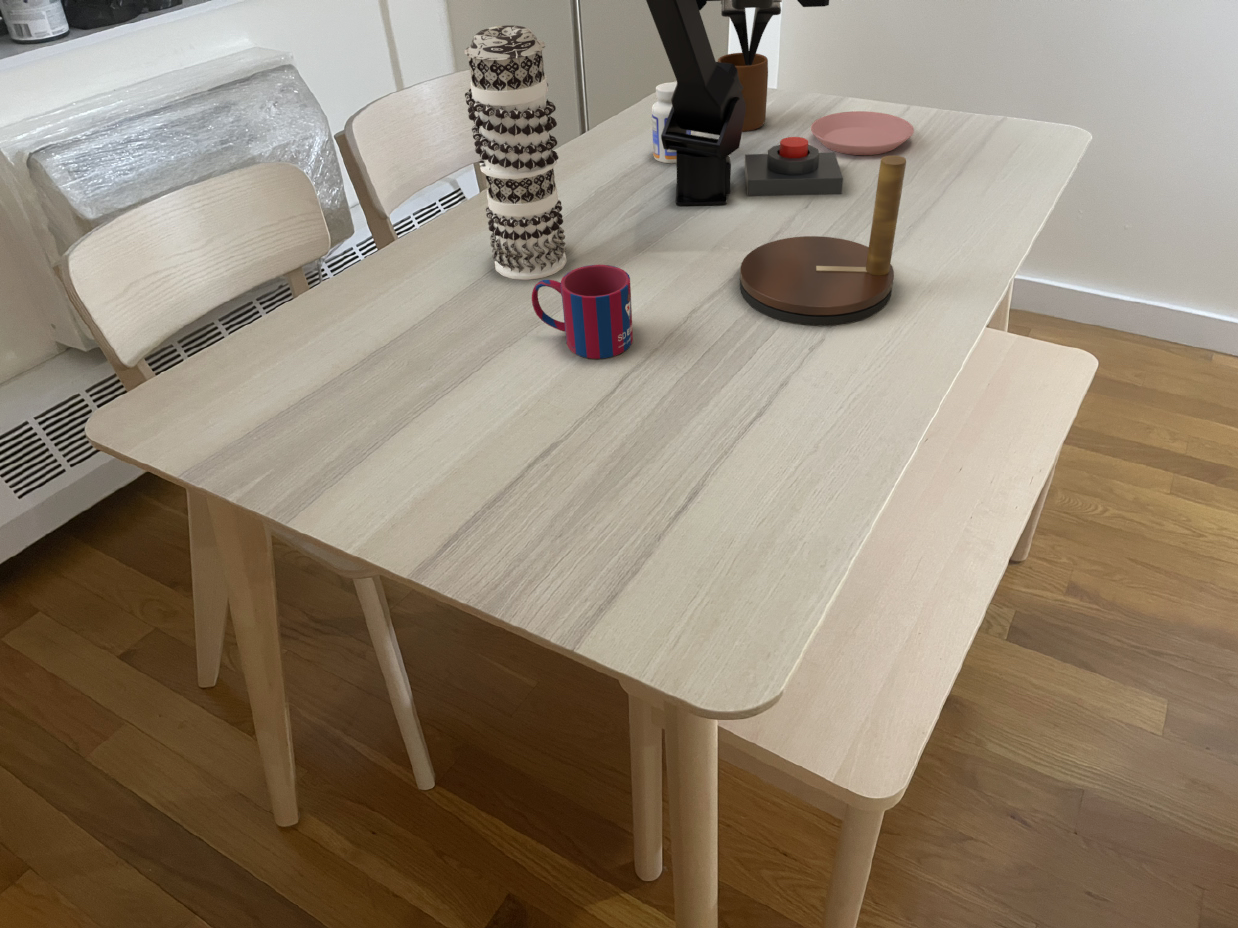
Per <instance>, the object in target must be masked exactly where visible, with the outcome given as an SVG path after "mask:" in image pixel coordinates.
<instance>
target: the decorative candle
mask: <svg viewBox="0 0 1238 928" xmlns="http://www.w3.org/2000/svg"><path fill="white" fill-rule="evenodd" d="M545 48H546V43H545V42H544V41H542V40H539V39H538V38H537V36H536V35H535V33H534V32H533V31H532V30H531V29H529V28H528V27H526V26H523V25H522V26H521V25H509V24H508V25H497V26H492V27H486V28H484V29H481V30H480V31H478V32H477V33H476V34H475V35H474V36H473V38H472V40H471V43H470V45H469V46H468V47H467V48H465V49H464V55H466V56H467V60H468V65H469V66H468V67H469V72H470V79H471V80H469V84H470V88H469V89H468V91H467V92H465V93H464V97H465V102H466V105H467V106H468V107H467V109H466V110H467V113H468V114H467V115H468V117H467V118H468V119H469V120H470V121H472V122H473V124H474V125H472V127H471V132H472V133H473V134H472V139H473V140H474V144H473V145H474V146H475V148H474V152H475V153H476V154H477V155H479V159H478V163H479V168H480V172H482V173H483V174H484V175H485V183H486V187H487V190H486V199H487V205H488V206H486V208H485V212H486V217H487V219H489V220H488V221H487V225H488V230H489V232H492V233H491V234H490V236H489V240H490V247H491V248H492V249H491V252H492V253H491V254H492V255H491V256H492V259H493V260H494V268H495V271H496V272H497V273H498V274H500V275H501V276H502V277H505V278H508V279H512V280H520V281H521V280H522V281H528V280H538V279H543V278H546V277H549V276H552V275H555V274H556V273H558V272H559V271H560V270H563V269H564V268H565V265H566V264H567V262H568V261H567V256H566V251H567V247H566V242H565V241H564V240H565V239H566V235H565V234H564V233H565V229H564V228H563V227H561V225H563V224H564V219H563V214H562V213H561V212H562V210H563V205H562V201H561V200H560V199H559V193H558V187H557V184H556V181H555V178H556V177H555V170H554V168H555V167H556V165H558V160H559V155H558V153H557V151H555V150H553V149H554V148H555V147H556V146H557V145H558V140H557V138H556V137H555V136H554V135H552V134H551V133H550V131H552V130H553V129H555V128H556V127H557V126H558V123H557V122H558V121H556V118H554V117H553V116H551V115H552V113H554V112H556V109H557V107H556V105H555V104H554V102H552V101H550V100H549V99H548V98H546V95H547V93H548V91H549V88H548V87H549V83H548V78H547V75H546V73H545V71H544V70H545V69H544V66H545V65H544V57H543V50H544V49H545ZM476 112H477V115H476Z"/></svg>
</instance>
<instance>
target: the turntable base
mask: <svg viewBox="0 0 1238 928" xmlns="http://www.w3.org/2000/svg"><path fill="white" fill-rule="evenodd" d="M739 291H740V294H741V296H742V299H743V300H744V301H745V302H746V303H747V304H748V305H749V306H750V307H751V308H753V309H754V310H756V311H757V312H759V313H761V314H762V315H764V316H766V317H770V318H772V319H775V320H778V321H781V322H785V323H789V324H795V325H801V326H802V325H803V326H815V327H816V326H817V327H828V326H829V327H830V326H837V325H838V326H839V325H846V324H851V323H855V322H860V321H863V320H865V319H867V318H870V317H872V316H874V315H876V314H878V313H879V312H880V311H882V310H883V309H884V308H885V307H886V306H887V305H888V303H889V302H890V299H891V297H892V292H893V288H892V289H891V290H890V292H889V294H888V295H887V296H886V297H885V298H884V299H882V300H881V301H880V302H878V303H876V304H875V305H873V306H870V307H868V308H866V309H862V310H859V311H855V312H851V313H845V314H838V315H806V314H799V313H793V312H788V311H784V310H780V309H776V308H774V307H771V306H768V305H766V304H764V303H762V302H760V301H758V300H757V299H755V298H754V297H752V296H751V295H750V294H749V293H748V292H747V291H746V290H745V289H744V287H743V285H742V283H741V280H740V279H739Z"/></svg>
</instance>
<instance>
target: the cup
mask: <svg viewBox="0 0 1238 928" xmlns="http://www.w3.org/2000/svg"><path fill="white" fill-rule="evenodd" d="M543 287H547V288H551V289H553V290H555V291H556V292H557V293H559V294H560V295H561V301H562V311H563V321H559V320H557V319H555V318H553V317H551V316H549V315H548V314H547V313H546V312H545V311H544V310H543V309H542V307H541V305H540V301H539V290H540V288H543ZM631 288H632V287H631V276H630V274H628V272H627V271H625V270H624V269H622V268H620V267H618V266H615V265H610V264H589V265H584V266H580V267H577V268H574V269H572V270H570V271H568V272H567V273H565V274H564V275H563V276H562V278H561V280H560V281H558V280H554V279H541V280H539V281H538V282H537V283H535V284H534V287H533V288H532V293H531V304H532V308H533V311H534V313H535V315H536V316H537V317H538V318H539V320H540V321H542V322H543V323H544V324H546V325H547V326H549V327H551V328H552V329H555V330H558V331H560V332H564V333H565V342H566V346H567V348H568V350H569V351H571V352H572V353H573V354H574V355H576V356H579V357H581V358H585V359H591V360H592V359H593V360H594V359H596V360H598V359H599V360H600V359H608V358H612V357H616V356H618V355H622V353H624V352H626V351H627V350H628V349H629V348H630V347H631V346H632V344H633V341H634V334H633V333H634V332H633V330H634V329H633V311H632V310H633V309H632V292H631V291H632V289H631Z"/></svg>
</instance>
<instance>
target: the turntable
mask: <svg viewBox="0 0 1238 928" xmlns="http://www.w3.org/2000/svg"><path fill="white" fill-rule="evenodd" d="M879 162H880V163H879V168H878V169H879V170H878V175H877V177H878V178H877V184H876V191H875V198H874V199H875V200H874V206H873V213H872V219H871V220H872V221H871V227H870V236H869V242H868V246H867V245H865V244H862V243H859V242H856V241H852V240H848V239H844V238H839V237H831V236H819V235H818V236H817V235H807V236H806V235H805V236H793V237H786V238H781V239H776V240H772V241H770V242H767V243H764V244H762V245H760V246H758V247H756V248H754V249H752V250H751V251H750V252H748V254H747V255H746V256H745V257H744V258H743V259H742V262H741V264H740V269H739V270H740V271H739V272H740V273H739V281H740V280H741V283H742V285H743V287H744V289H745V290H746V291H747V292H748V293H749V294H750V295H751V296H752V297H754V298H755V299H757V300H758V301H760V302H762V303H764V304H766V305H768V306H771V307H774V308H776V309H780V310H784V311H788V312H793V313H799V314H806V315H838V314H845V313H851V312H855V311H859V310H862V309H866V308H868V307H870V306H873V305H875V304H876V303H878V302H880V301H881V300H882V299H884V298H885V297H886V296H887V295H888V294H889V292H890V290H891V289H892V290H893V286H894V279H895V271H894V267H893V265H892V256H893V249H894V243H895V237H896V230H897V223H898V217H899V210H900V206H901V205H900V204H901V197H902V193H903V185H904V179H905V172H906V166H907V159H906V158H905V157H903V156H900V155H891V154H890V155H884V156H883V157H881V158H880V161H879Z"/></svg>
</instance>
